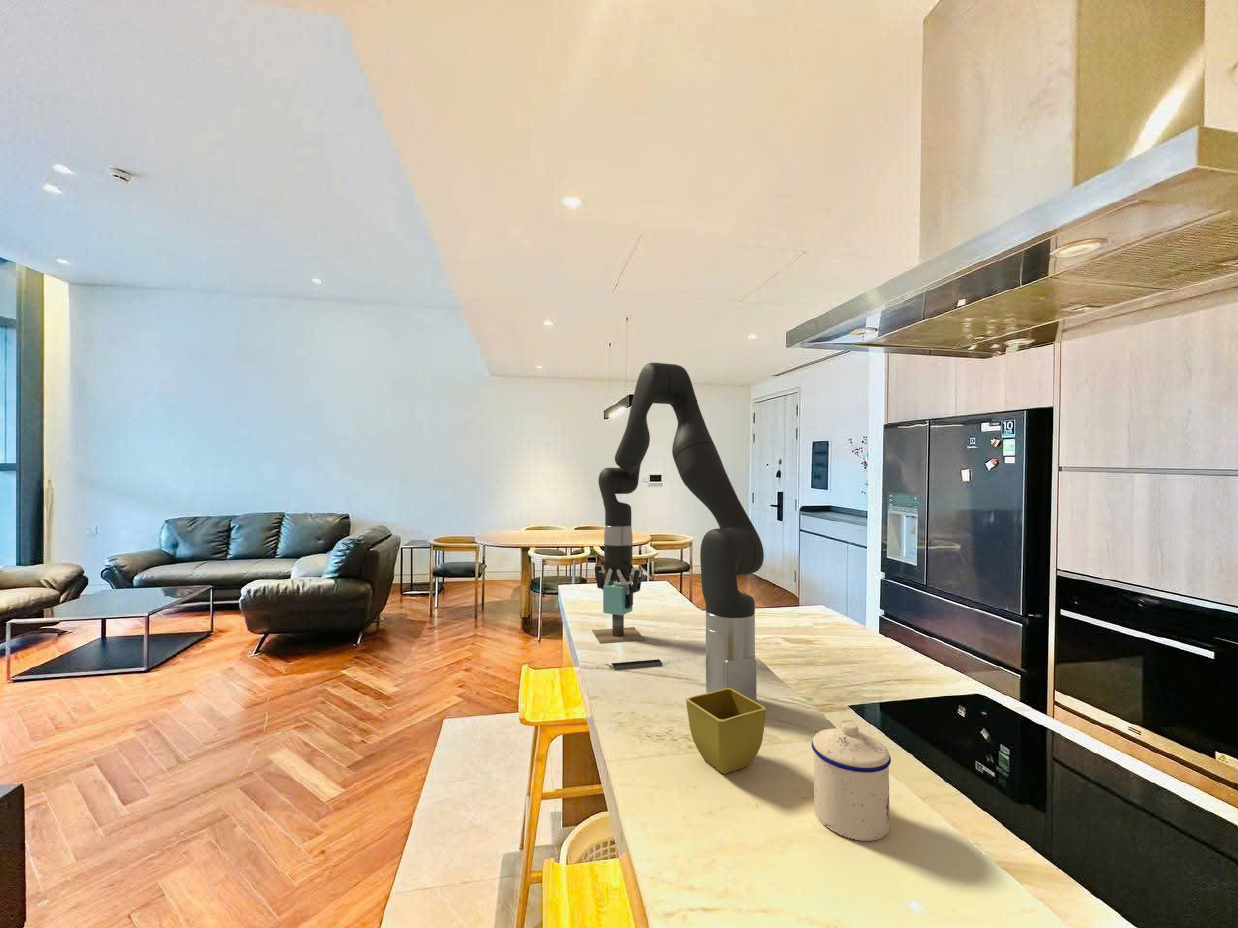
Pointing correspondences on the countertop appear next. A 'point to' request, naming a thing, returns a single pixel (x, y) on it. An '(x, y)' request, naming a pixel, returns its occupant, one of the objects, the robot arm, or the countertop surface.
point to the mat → (637, 664)
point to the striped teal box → (614, 599)
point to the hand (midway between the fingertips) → (618, 606)
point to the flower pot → (726, 728)
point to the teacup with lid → (851, 782)
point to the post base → (612, 639)
